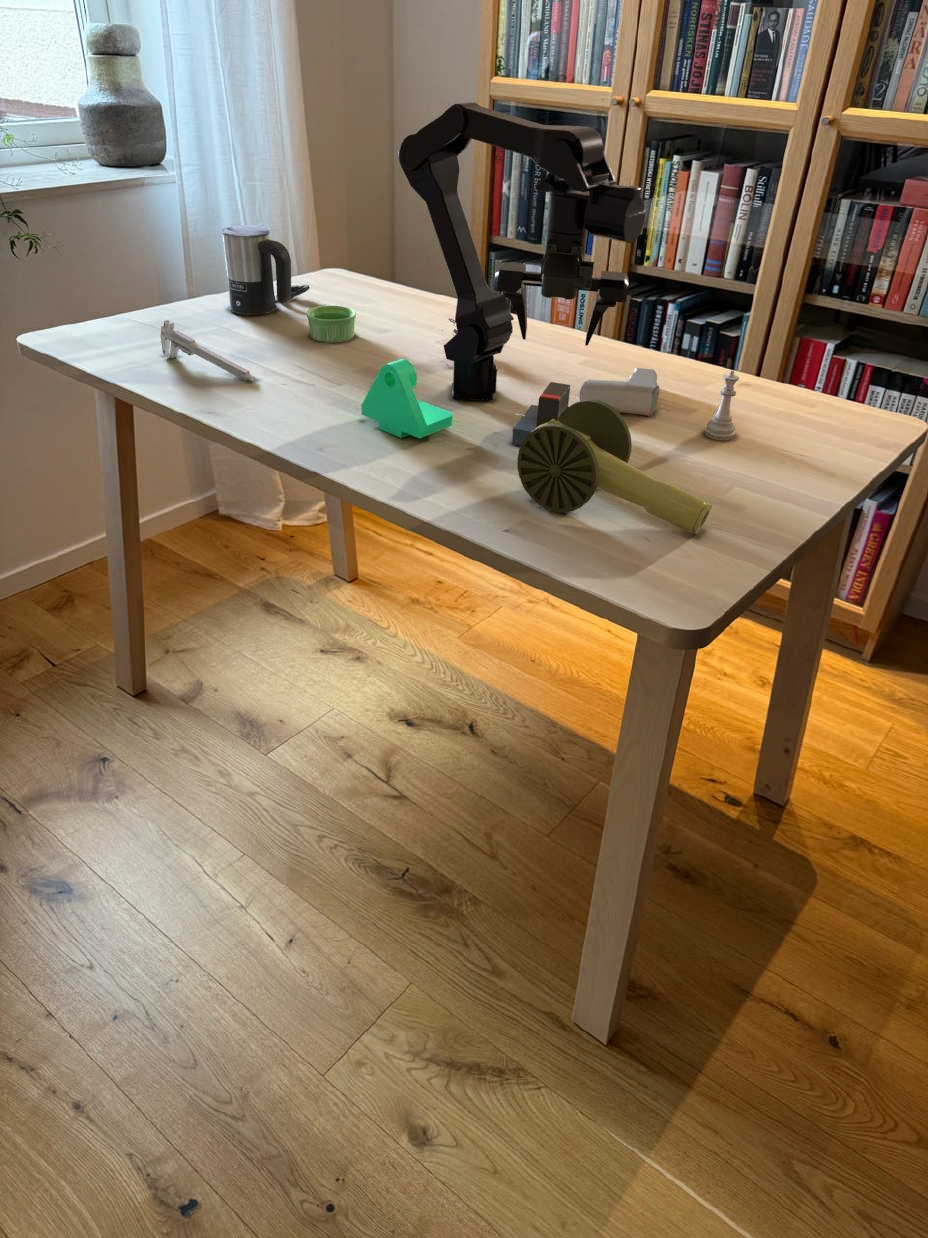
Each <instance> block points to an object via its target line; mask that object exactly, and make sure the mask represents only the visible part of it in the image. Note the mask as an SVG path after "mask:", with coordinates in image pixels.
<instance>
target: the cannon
mask: <svg viewBox="0 0 928 1238" xmlns="http://www.w3.org/2000/svg"><path fill="white" fill-rule="evenodd" d="M632 443H633V442H632V436H631V432H630V428H629V426H628V425H627V422H626V421H625V419H624V417H623V416H622V415H621V413H620V412H617V411H616V410H615V409H614V408H613V407H612V406H610V405H608V404H607V403H604V402H602V401H599V400H593V399H587V400H581V401H580V400H578V401H575V402H574V403H572V404H571V405H568V408H566V409H565V410H564V411H563V412H562V413H561V415H560V416H559V418H558V420H556V419H552V420H550V421H549V422H547V423H544V424H542V425H540V426H538V427H537V428H536V429H534V430H533V431H532V432H531V433H530V434H529V435H528V436H527V437H526V438H525V439H524V441H523V442H522V444H521V446H519V449H518V452H517V460H516V462H517V467H516V468H517V472H518V477H519V480H520V482H521V485H522V488H524V490H525V492H526V493H527V494H528V496H529V497H530V498H531V499H532V500H533V501H534V502H535V503H536V504H537V505H539V506H540V507H542V508H543V509H546V510H548V511H551V512H555V513H560V514H562V513H563V514H564V513H566V514H567V513H571V512H574V511H577V510H578V509H581V508H582V507H583V506H584V505H585V504H587V503H588V502H589V501H590V500H591V499H592V497H593V496H594V494H595V492H596V490H599V491H602V492H605V493H607V494H609V495H612V496H614V497H617V498H619V499H621V500H624V501H627V502H629V503H632V504H634V505H637V506H639V507H641V508H643V509H644V510H645V511H646V512H647V513H648V514H651V515H653V516H655V517H657V518H659V519H661V520H663V521H665V522H667V523H669V524H671V525H673V526H676V527H678V528H680V529H681V530H683V531H686V532H688V533H693V534H695V535H698V534H699V533H700V531H701V530H702V529H703V526H704V525H705V523H706V521H707V519H708V518H709V515H710V513H711V510H712V507H713V505H712V504H711V503H708V502H707V500H706V499H703V498H701V497H699V496H697V495H695V494H694V493H690V492H689V491H688V490H685V489H682V488H680V487H678V486H676V485H674V484H672V483H670V482H668V481H666V480H661V479H657V478H655V477H653V476H651V475H650V474H648V473H646V472H644V471H642V470H641V469H639V468H637V467H636V466H634V465H631V464H630V463H629V462H630V458H631V454H632V445H633V444H632Z"/></svg>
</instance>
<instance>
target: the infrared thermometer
mask: <svg viewBox="0 0 928 1238" xmlns="http://www.w3.org/2000/svg"><path fill="white" fill-rule="evenodd" d="M659 391H660V386H659V385H658V374H657V372H656V370H654V369H651V368H643V367H634V372H633V373H631V374H630V376H629V378H628V379H627V380H626V381H623V380H622V381H621V380H605V379H604V380H602V379H587V380H585V381H584V382H583V384H582V386H581V388H580V390H579V396H578V398H579V401H581V400H587V399H593V400H599V401H602V402H604V403H607V404H608V405H610V406H612V407H613V408H614V409H615V410H616V411H617V412H619V413H623V414H631V415H640V416H648V417H649V416H652V414H653V413H654V410H655V409H656V405H657V401H658V398H659V393H660V392H659Z"/></svg>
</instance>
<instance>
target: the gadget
mask: <svg viewBox="0 0 928 1238" xmlns="http://www.w3.org/2000/svg"><path fill="white" fill-rule="evenodd" d="M570 393H571V384H567V383H561V382H556V381H555V382H554V381H550V382H549V384H548V385H547V386H546V388H545V389H544V390H543V392H542V393H541V394H540V395H539V397H538V402H537V406H538V413H537V425H536V427H538V426H540V425H542V424H544V423H547V422H549V421H550V420H552V419H556V420H558V418H559V416H560V415H561V413H562V412H563V411H564V410H565V409H566V408H568V407H569V401H570Z"/></svg>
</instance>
